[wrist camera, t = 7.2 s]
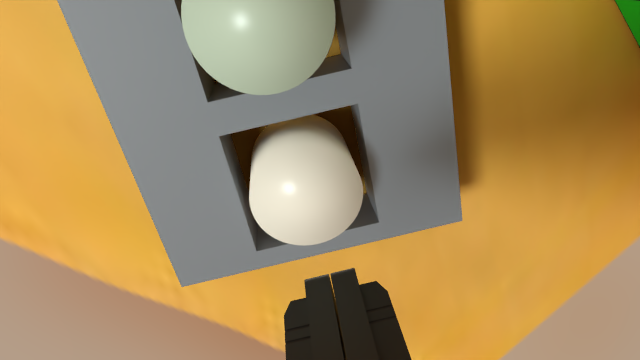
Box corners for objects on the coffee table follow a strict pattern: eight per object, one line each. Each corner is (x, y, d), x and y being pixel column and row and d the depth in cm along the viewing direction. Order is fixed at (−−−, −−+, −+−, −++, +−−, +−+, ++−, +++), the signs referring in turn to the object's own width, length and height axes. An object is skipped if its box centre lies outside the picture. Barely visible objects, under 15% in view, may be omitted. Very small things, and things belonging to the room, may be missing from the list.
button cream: (338, 103, 22) (352, 131, 19) (355, 190, 24) (371, 231, 21) (239, 126, 22) (234, 159, 19) (265, 211, 24) (265, 256, 21)
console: (378, -416, 15) (403, -493, 13) (441, 192, 26) (462, 220, 23) (-41, -318, 15) (-107, -376, 13) (190, 251, 26) (181, 286, 23)
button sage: (307, -76, 17) (318, -83, 14) (332, 54, 19) (347, 77, 16) (180, -46, 17) (157, -46, 14) (219, 80, 19) (209, 109, 16)
